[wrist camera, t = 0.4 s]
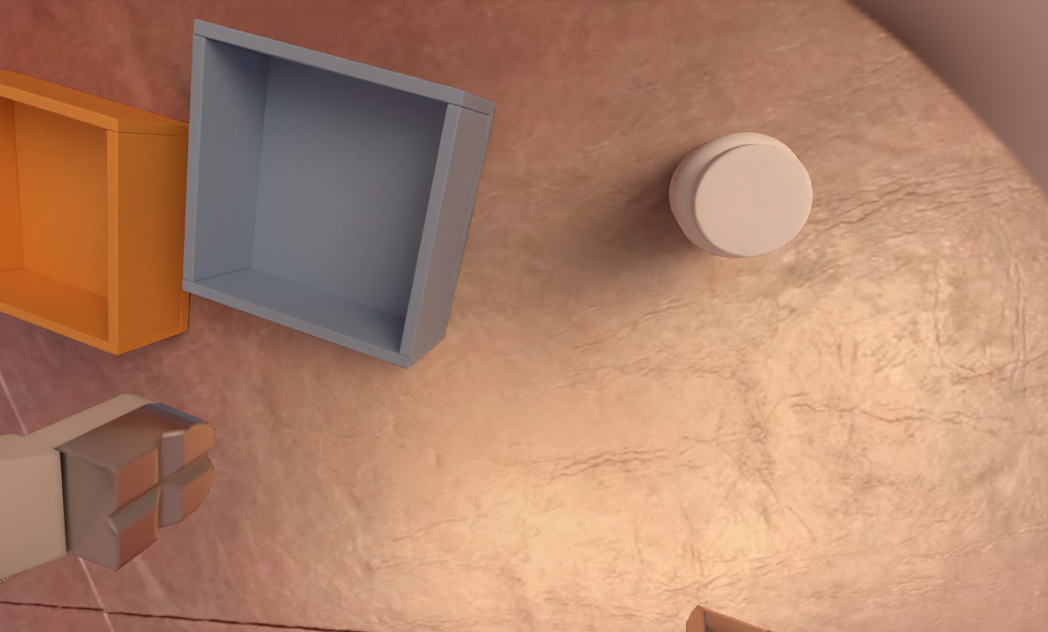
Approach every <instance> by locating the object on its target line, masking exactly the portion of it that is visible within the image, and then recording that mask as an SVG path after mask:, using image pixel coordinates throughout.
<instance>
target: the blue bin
mask: <svg viewBox="0 0 1048 632" xmlns="http://www.w3.org/2000/svg"><path fill="white" fill-rule="evenodd" d="M193 33H194V34H195V35H193V45H192V69H191V93H190V117H189V141H188V165H187V189H186V213H185V237H184V261H183V281H182V290H184V291H186V292H189V293H192V294H195V295H198V296H201V297H203V298H206V299H209V300H212V301H215V302H218V303H221V304H223V305H226V306H229V307H232V308H235V309H238V310H241V311H243V312H246V313H249V314H252V315H255V316H258V317H261V318H263V319H266V320H269V321H272V322H275V323H278V324H280V325H283V326H286V327H289V328H292V329H295V330H298V331H300V332H303V333H306V334H309V335H312V336H315V337H318V338H320V339H323V340H326V341H329V342H332V343H335V344H337V345H340V346H343V347H346V348H349V349H352V350H355V351H357V352H360V353H363V354H366V355H369V356H372V357H375V358H377V359H380V360H383V361H386V362H389V363H392V364H395V365H397V366H400V367H403V368H406V369H408V368H410V367H411V366H412V365H413V364H414V363H416V362H417V361H418V360H419V359H420V358H421V357H423V356H424V355H425V354H426V353H427V352H429V351H430V350H431V349H432V348H433V347H434V346H436V345H437V344H438V343H439V342H440V341H441V340H443V339H444V336H445V332H446V327H447V323H448V318H449V314H450V309H451V305H452V300H453V296H454V292H455V287H456V283H457V278H458V274H459V269H460V265H461V260H462V256H463V251H464V247H465V242H466V238H467V233H468V229H469V224H470V220H471V215H472V211H473V206H474V202H475V197H476V193H477V188H478V184H479V179H480V175H481V171H482V166H483V162H484V157H485V153H486V148H487V144H488V139H489V135H490V130H491V126H492V121H493V117H494V112H495V108H496V104H495V103H493V102H491V101H488V100H486V99H483V98H481V97H478V96H476V95H474V94H471V93H469V92H466V91H464V90H461V89H457V88H453V87H449V86H446V85H442V84H438V83H434V82H431V81H427V80H423V79H419V78H416V77H412V76H408V75H404V74H401V73H397V72H393V71H389V70H386V69H382V68H378V67H374V66H371V65H367V64H363V63H359V62H356V61H352V60H348V59H344V58H341V57H337V56H333V55H329V54H326V53H322V52H318V51H314V50H311V49H307V48H303V47H299V46H296V45H292V44H288V43H284V42H281V41H277V40H273V39H269V38H266V37H262V36H258V35H254V34H251V33H247V32H243V31H239V30H236V29H232V28H228V27H224V26H221V25H217V24H213V23H209V22H206V21H202V20H198V19H194V23H193Z"/></svg>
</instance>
